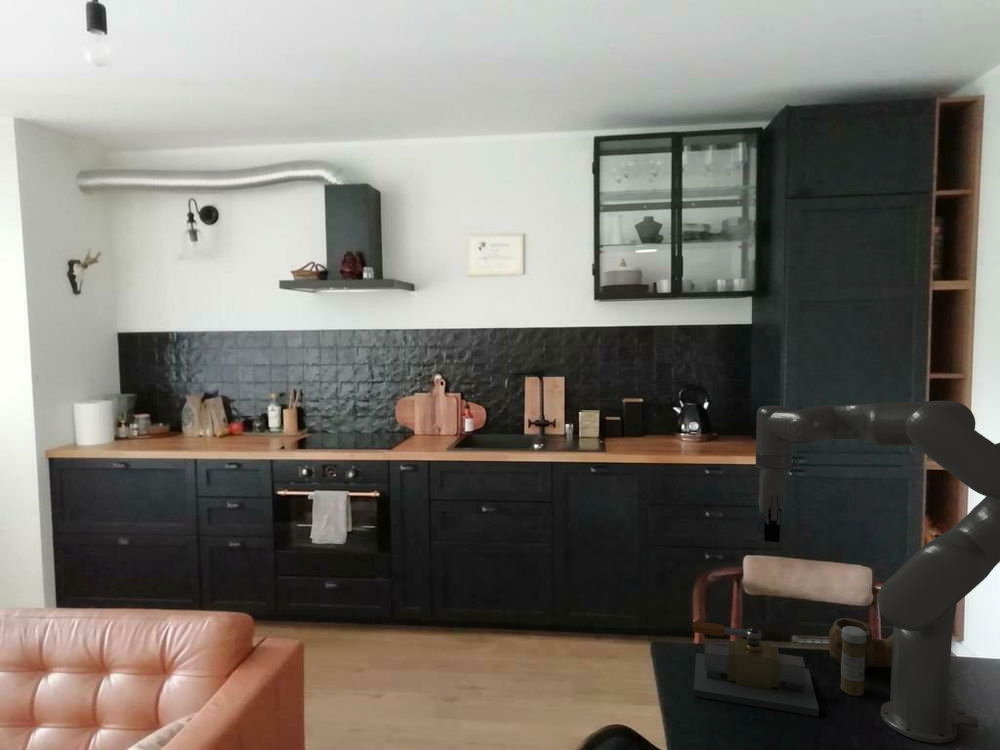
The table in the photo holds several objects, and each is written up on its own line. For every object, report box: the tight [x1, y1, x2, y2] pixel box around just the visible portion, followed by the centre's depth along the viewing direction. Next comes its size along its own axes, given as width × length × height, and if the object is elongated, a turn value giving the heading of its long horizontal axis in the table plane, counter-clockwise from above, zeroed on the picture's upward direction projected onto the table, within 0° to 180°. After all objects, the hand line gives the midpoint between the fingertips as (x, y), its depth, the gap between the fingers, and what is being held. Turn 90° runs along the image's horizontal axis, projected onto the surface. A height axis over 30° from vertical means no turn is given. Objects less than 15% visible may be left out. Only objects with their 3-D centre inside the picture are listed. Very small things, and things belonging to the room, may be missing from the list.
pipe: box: [828, 617, 893, 669], centre depth 149 cm, size 9×16×10 cm, turn 80°
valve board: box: [693, 652, 820, 717], centre depth 143 cm, size 24×16×2 cm, turn 72°
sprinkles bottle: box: [839, 626, 866, 697], centre depth 140 cm, size 5×5×14 cm
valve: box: [704, 637, 806, 692], centre depth 143 cm, size 20×7×9 cm, turn 72°
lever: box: [692, 620, 763, 641], centre depth 144 cm, size 14×3×2 cm, turn 73°
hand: (771, 540), depth 150 cm, fingers closed
